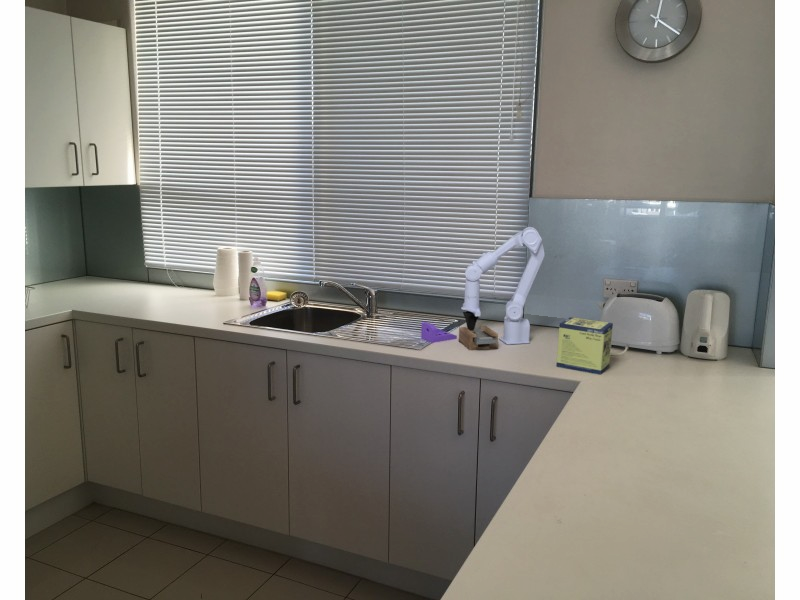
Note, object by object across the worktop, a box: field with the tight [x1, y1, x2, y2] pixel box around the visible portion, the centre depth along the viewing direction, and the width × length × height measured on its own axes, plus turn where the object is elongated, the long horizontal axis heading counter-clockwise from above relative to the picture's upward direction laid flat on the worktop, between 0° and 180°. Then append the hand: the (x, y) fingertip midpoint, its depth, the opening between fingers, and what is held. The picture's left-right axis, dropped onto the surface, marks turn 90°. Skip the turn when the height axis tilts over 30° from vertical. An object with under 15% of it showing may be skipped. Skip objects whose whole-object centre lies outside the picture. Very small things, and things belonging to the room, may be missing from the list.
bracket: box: [420, 321, 458, 344], centre depth 262 cm, size 12×7×7 cm, turn 123°
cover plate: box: [472, 330, 497, 344], centre depth 251 cm, size 8×12×2 cm, turn 14°
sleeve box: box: [458, 325, 499, 351], centre depth 254 cm, size 11×12×6 cm
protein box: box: [555, 317, 614, 376], centre depth 229 cm, size 10×16×16 cm
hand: (470, 330), depth 262 cm, fingers closed
